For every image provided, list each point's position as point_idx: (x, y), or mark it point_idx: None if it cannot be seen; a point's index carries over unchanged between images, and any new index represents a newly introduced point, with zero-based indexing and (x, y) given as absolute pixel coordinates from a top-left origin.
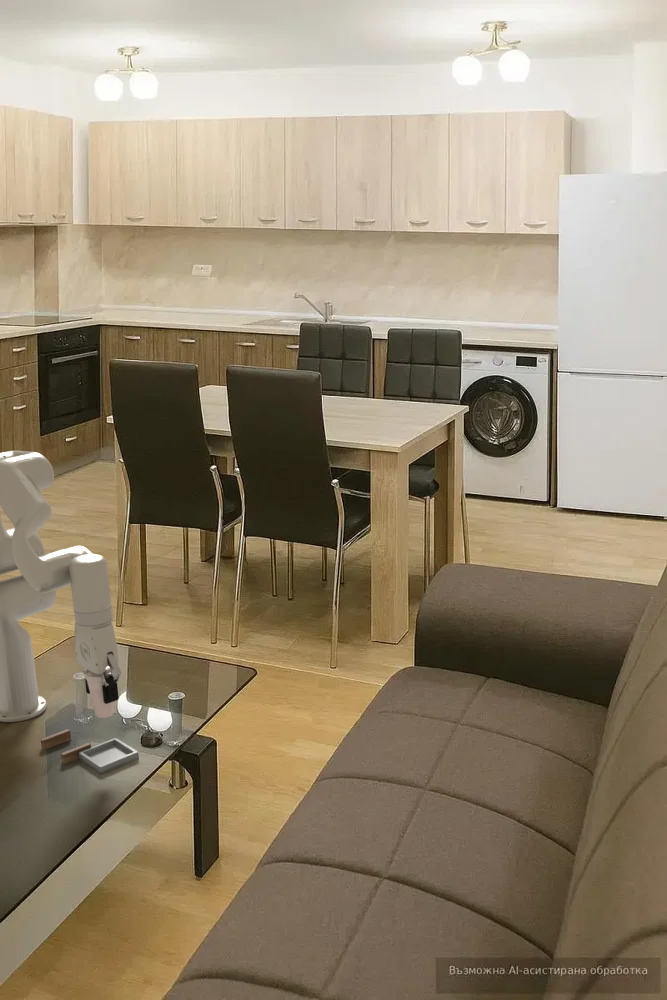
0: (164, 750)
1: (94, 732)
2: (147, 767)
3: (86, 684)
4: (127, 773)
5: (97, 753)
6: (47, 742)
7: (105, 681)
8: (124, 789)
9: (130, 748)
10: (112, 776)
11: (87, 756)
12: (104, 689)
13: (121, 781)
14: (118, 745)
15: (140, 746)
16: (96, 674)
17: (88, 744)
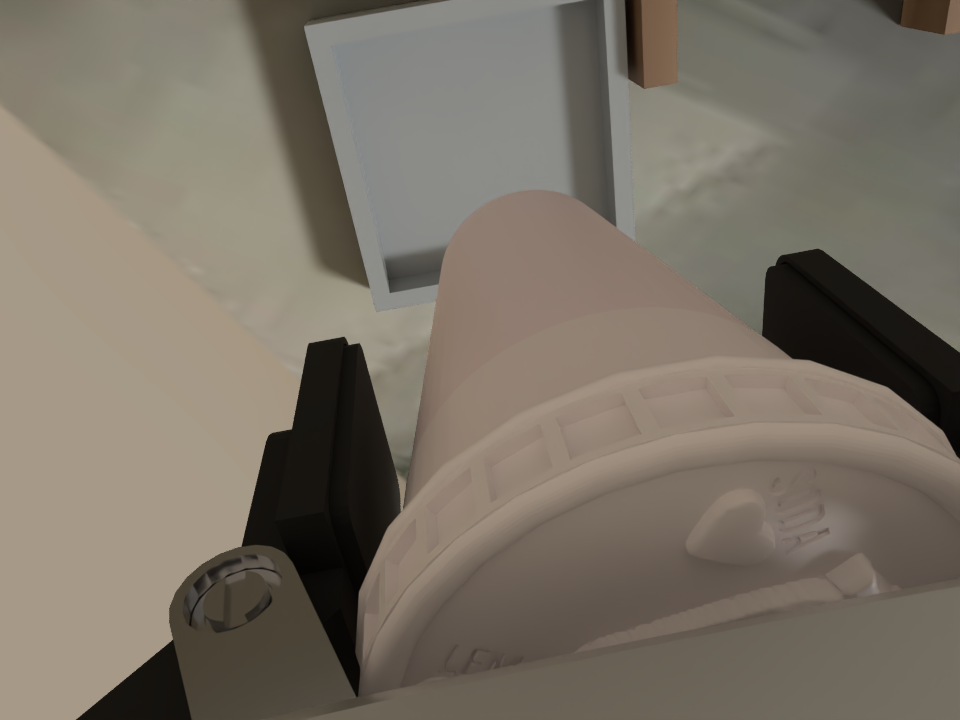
0: (388, 425)
1: (857, 191)
2: (247, 296)
3: (863, 312)
4: (233, 174)
5: (575, 102)
6: None
7: (186, 653)
8: (21, 79)
9: None
10: (242, 77)
11: (520, 5)
12: (289, 488)
13: (143, 103)
14: None
15: None
16: (603, 617)
17: (651, 72)
